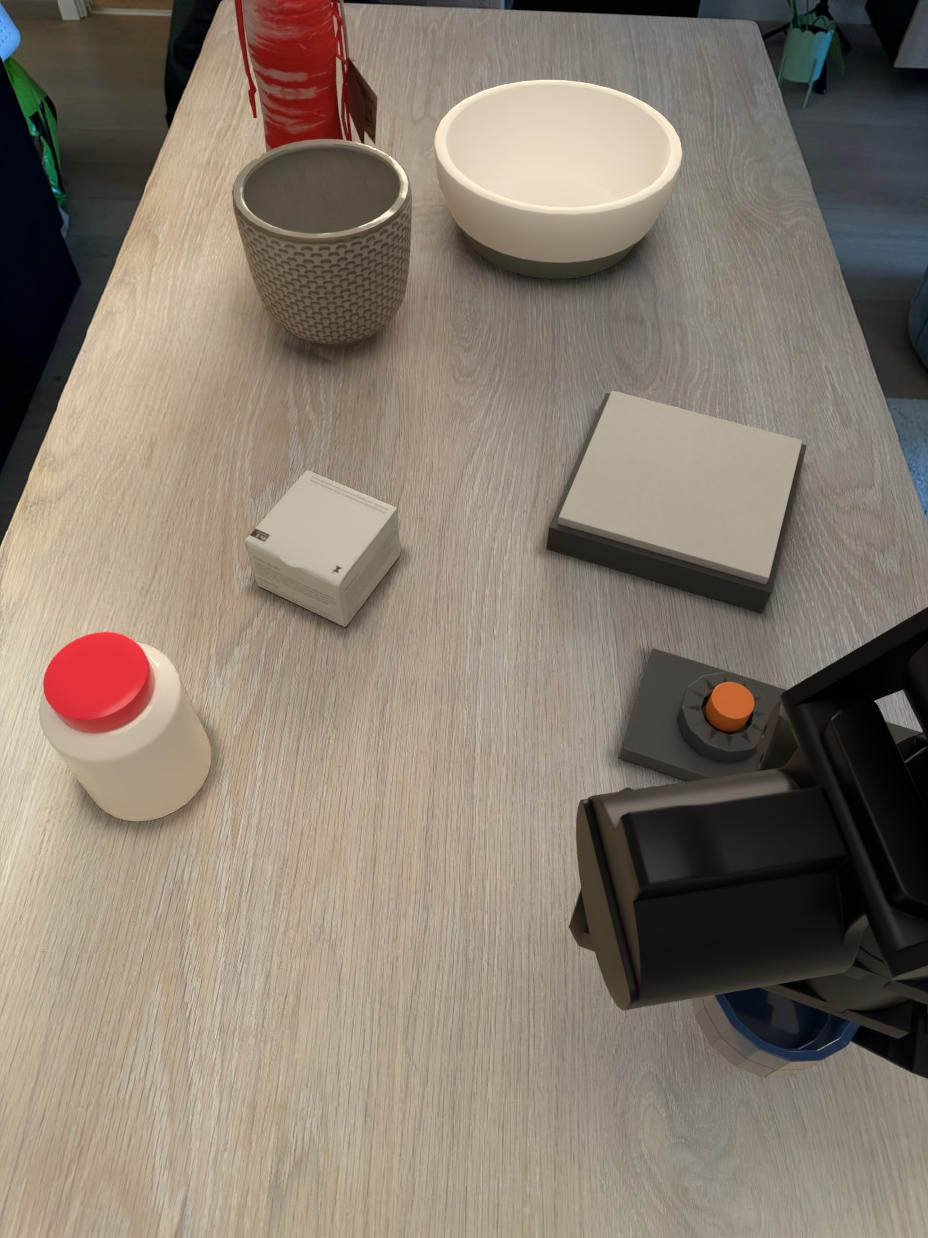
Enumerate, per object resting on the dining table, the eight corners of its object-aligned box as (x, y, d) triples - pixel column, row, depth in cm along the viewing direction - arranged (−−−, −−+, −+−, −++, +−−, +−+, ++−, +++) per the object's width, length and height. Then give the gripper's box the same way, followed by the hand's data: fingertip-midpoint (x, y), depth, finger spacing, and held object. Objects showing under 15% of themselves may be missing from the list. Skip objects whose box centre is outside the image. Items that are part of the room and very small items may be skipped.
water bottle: (394, 193, 95) (379, -105, 74) (382, 240, 91) (363, -62, 70) (276, 184, 96) (229, -113, 75) (259, 231, 91) (203, -71, 71)
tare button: (750, 703, 60) (758, 689, 58) (742, 737, 58) (750, 724, 57) (710, 690, 60) (716, 676, 59) (701, 724, 59) (707, 710, 57)
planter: (393, 388, 79) (384, 251, 68) (235, 362, 81) (203, 224, 70) (432, 287, 87) (430, 149, 76) (287, 265, 88) (265, 127, 78)
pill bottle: (85, 832, 57) (16, 751, 48) (87, 721, 61) (24, 626, 52) (215, 808, 58) (171, 724, 49) (208, 700, 62) (166, 604, 53)
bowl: (605, 328, 84) (619, 244, 77) (390, 249, 90) (385, 164, 83) (700, 202, 95) (720, 118, 88) (503, 139, 101) (507, 56, 94)
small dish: (838, 961, 45) (874, 933, 41) (818, 1102, 41) (855, 1086, 37) (705, 912, 46) (727, 881, 42) (674, 1046, 42) (696, 1026, 39)
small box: (403, 553, 69) (400, 507, 65) (345, 631, 65) (338, 587, 61) (315, 513, 71) (306, 465, 67) (253, 586, 67) (240, 541, 63)
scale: (797, 467, 75) (810, 437, 72) (761, 613, 67) (775, 585, 64) (601, 415, 78) (607, 384, 75) (545, 548, 70) (549, 519, 67)
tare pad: (811, 709, 62) (826, 686, 60) (790, 816, 58) (805, 796, 56) (649, 658, 64) (657, 634, 62) (617, 758, 60) (625, 736, 58)
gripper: (1211, 756, 32) (993, 901, 45) (673, 596, 36) (613, 773, 48) (1240, 1099, 26) (979, 1153, 39) (590, 866, 30) (547, 986, 43)
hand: (767, 995), depth 42 cm, fingers closed on small dish, 6 cm apart
